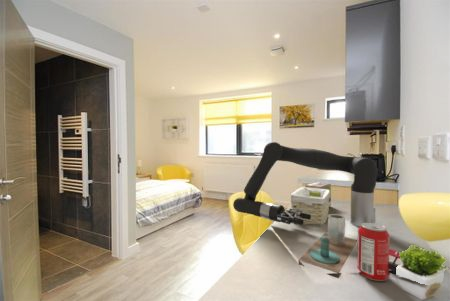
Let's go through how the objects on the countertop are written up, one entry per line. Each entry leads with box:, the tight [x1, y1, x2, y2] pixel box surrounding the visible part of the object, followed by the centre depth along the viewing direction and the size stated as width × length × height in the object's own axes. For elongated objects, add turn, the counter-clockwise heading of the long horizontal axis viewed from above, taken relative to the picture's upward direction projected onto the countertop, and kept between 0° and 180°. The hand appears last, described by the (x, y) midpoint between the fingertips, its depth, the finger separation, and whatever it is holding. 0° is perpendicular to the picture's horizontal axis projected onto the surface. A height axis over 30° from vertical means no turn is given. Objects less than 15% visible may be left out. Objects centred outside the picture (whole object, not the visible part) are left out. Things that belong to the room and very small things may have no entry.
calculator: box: [389, 248, 402, 276], centre depth 74 cm, size 11×4×15 cm
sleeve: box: [327, 213, 346, 245], centre depth 87 cm, size 6×6×10 cm
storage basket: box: [290, 186, 330, 226], centre depth 119 cm, size 24×16×15 cm
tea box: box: [304, 181, 332, 208], centre depth 141 cm, size 15×10×15 cm
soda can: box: [357, 222, 391, 282], centre depth 67 cm, size 8×8×15 cm
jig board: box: [298, 231, 358, 279], centre depth 81 cm, size 30×12×8 cm, turn 140°
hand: (307, 219), depth 94 cm, fingers open, 8 cm apart
